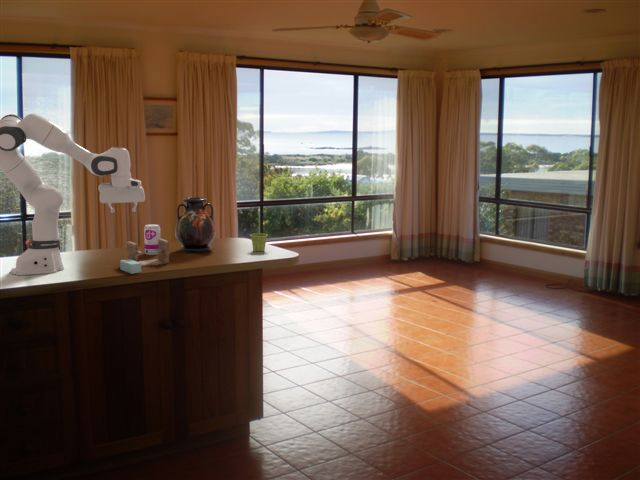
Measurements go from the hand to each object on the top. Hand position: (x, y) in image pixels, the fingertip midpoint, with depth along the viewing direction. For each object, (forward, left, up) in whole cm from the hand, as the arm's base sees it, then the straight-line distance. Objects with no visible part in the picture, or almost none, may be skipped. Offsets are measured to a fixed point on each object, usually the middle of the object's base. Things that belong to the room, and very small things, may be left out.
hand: (123, 212), depth 319 cm
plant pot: (+76, +6, -27) cm, 81 cm away
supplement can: (+25, +28, -27) cm, 46 cm away
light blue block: (0, -7, -27) cm, 28 cm away
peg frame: (+13, +4, -26) cm, 30 cm away
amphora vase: (+48, +25, -27) cm, 60 cm away
